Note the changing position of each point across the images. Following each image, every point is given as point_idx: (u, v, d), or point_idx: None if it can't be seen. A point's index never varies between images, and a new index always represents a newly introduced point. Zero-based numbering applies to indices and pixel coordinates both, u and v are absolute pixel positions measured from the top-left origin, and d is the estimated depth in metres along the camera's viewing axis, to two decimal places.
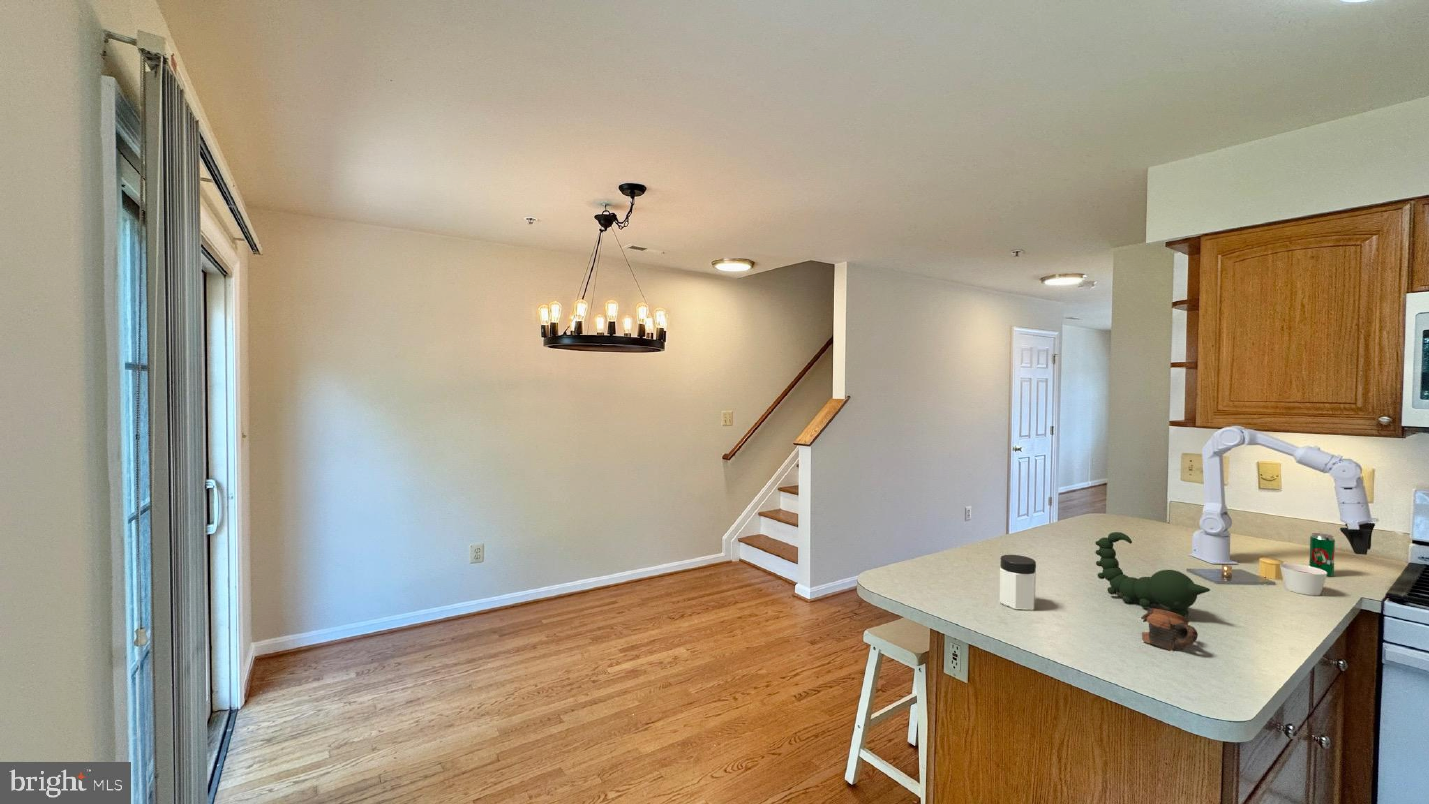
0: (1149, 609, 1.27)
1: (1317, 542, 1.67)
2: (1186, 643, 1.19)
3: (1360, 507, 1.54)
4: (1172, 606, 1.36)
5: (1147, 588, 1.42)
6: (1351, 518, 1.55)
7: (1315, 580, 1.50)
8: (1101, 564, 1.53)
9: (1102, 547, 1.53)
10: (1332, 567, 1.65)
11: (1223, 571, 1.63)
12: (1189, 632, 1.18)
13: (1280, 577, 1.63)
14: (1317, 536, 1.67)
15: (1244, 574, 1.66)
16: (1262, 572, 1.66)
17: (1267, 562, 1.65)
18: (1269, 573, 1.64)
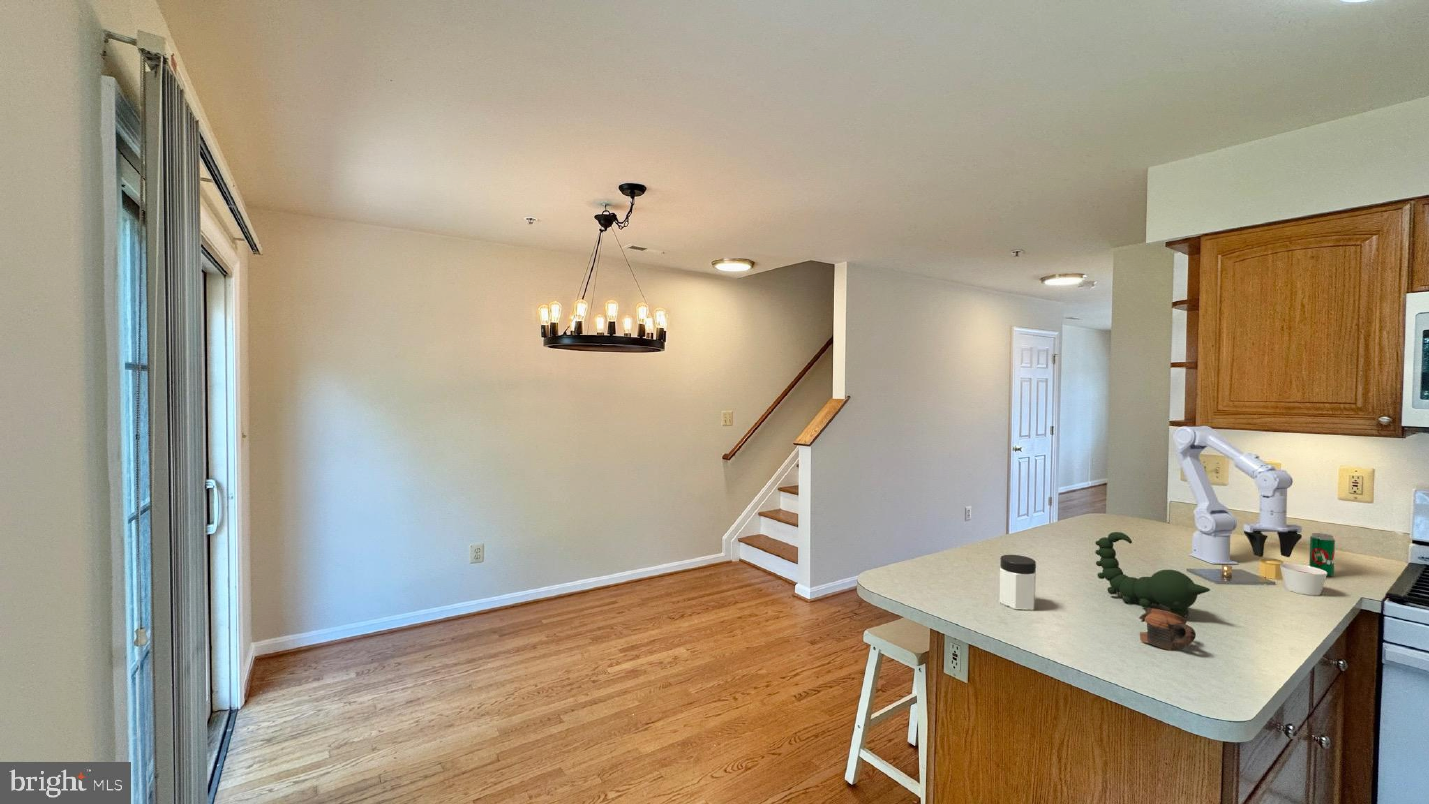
0: (1147, 609, 1.27)
1: (1317, 542, 1.67)
2: (1184, 643, 1.19)
3: (1269, 515, 1.64)
4: (1172, 606, 1.36)
5: (1147, 588, 1.42)
6: (1261, 523, 1.66)
7: (1315, 580, 1.50)
8: (1101, 564, 1.53)
9: (1102, 547, 1.53)
10: (1332, 567, 1.65)
11: (1223, 571, 1.63)
12: (1187, 632, 1.18)
13: (1280, 577, 1.63)
14: (1317, 536, 1.67)
15: (1244, 574, 1.66)
16: (1262, 572, 1.66)
17: (1267, 562, 1.65)
18: (1269, 573, 1.64)
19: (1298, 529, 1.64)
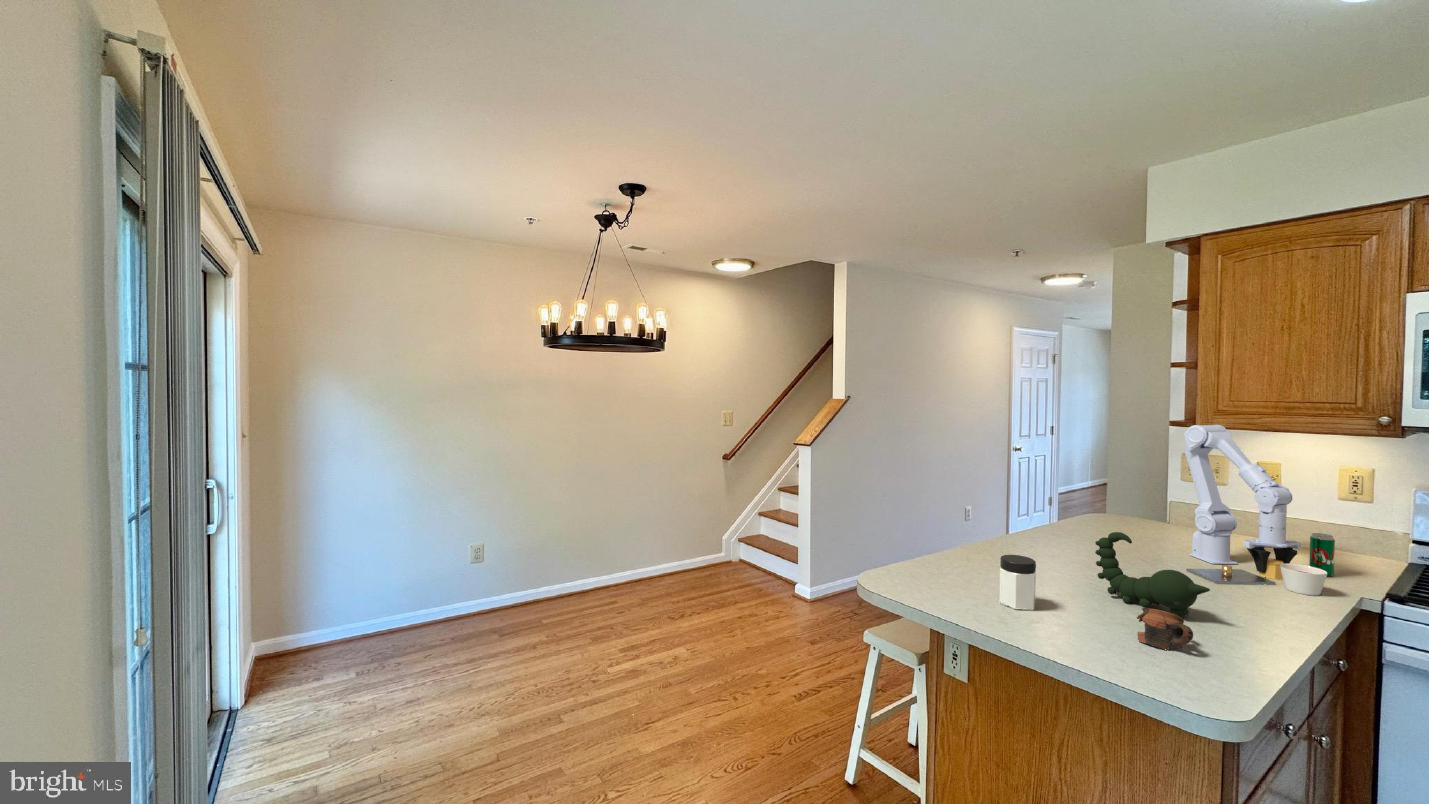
0: (1145, 609, 1.27)
1: (1317, 542, 1.67)
2: (1182, 643, 1.19)
3: (1268, 531, 1.64)
4: (1172, 606, 1.36)
5: (1147, 588, 1.42)
6: (1260, 539, 1.66)
7: (1315, 580, 1.50)
8: (1101, 564, 1.53)
9: (1102, 547, 1.53)
10: (1332, 567, 1.65)
11: (1223, 571, 1.63)
12: (1185, 632, 1.18)
13: (1280, 577, 1.63)
14: (1317, 536, 1.67)
15: (1244, 574, 1.66)
16: None
17: (1267, 562, 1.65)
18: (1269, 573, 1.64)
19: (1297, 545, 1.64)
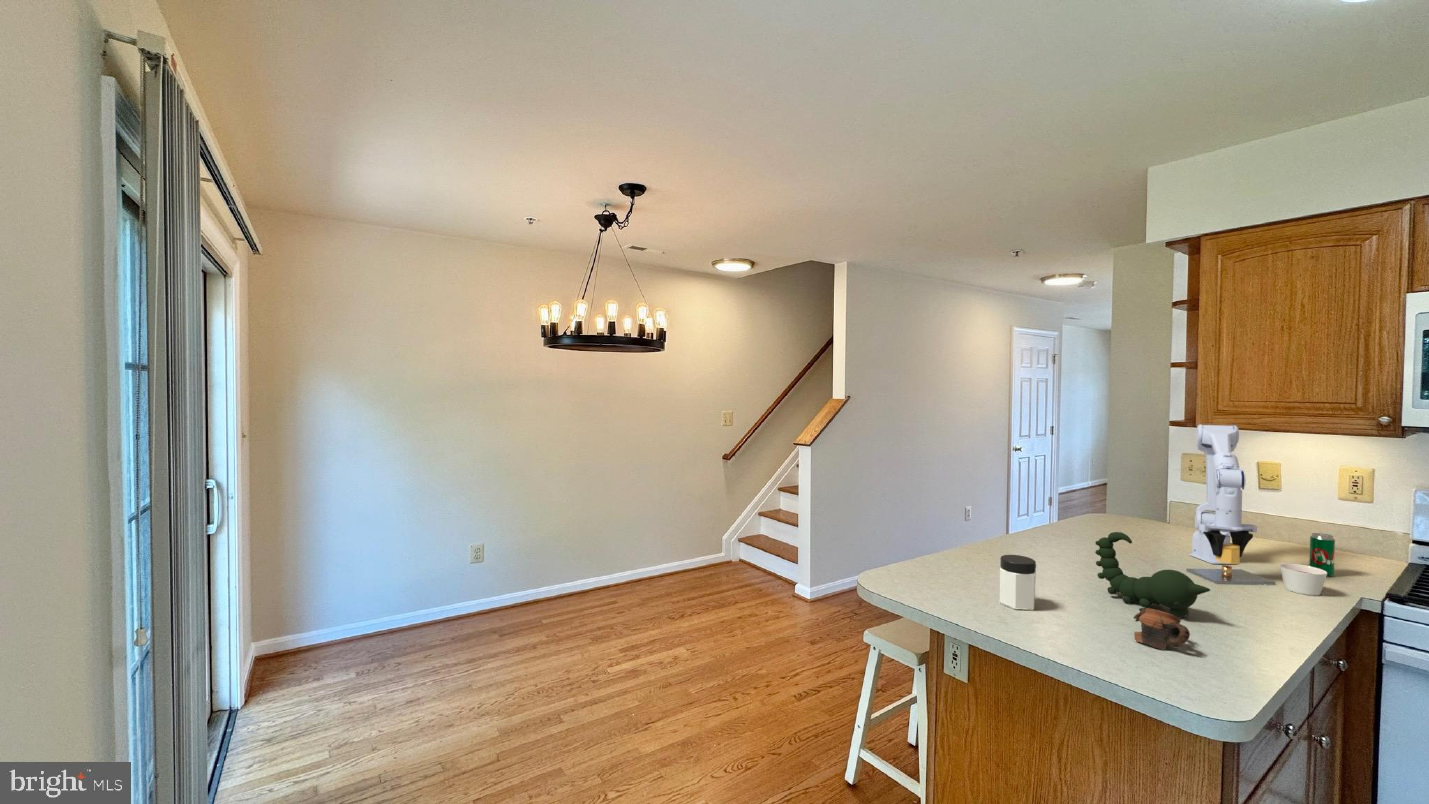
0: (1141, 609, 1.27)
1: (1317, 542, 1.67)
2: (1178, 642, 1.19)
3: (1224, 514, 1.62)
4: (1172, 606, 1.36)
5: (1147, 588, 1.42)
6: (1216, 523, 1.64)
7: (1315, 580, 1.50)
8: (1101, 564, 1.53)
9: (1102, 547, 1.53)
10: (1332, 567, 1.65)
11: (1223, 571, 1.63)
12: (1181, 631, 1.18)
13: (1236, 561, 1.61)
14: (1317, 536, 1.67)
15: (1244, 574, 1.66)
16: (1218, 557, 1.63)
17: (1223, 546, 1.62)
18: (1225, 558, 1.62)
19: (1253, 529, 1.62)
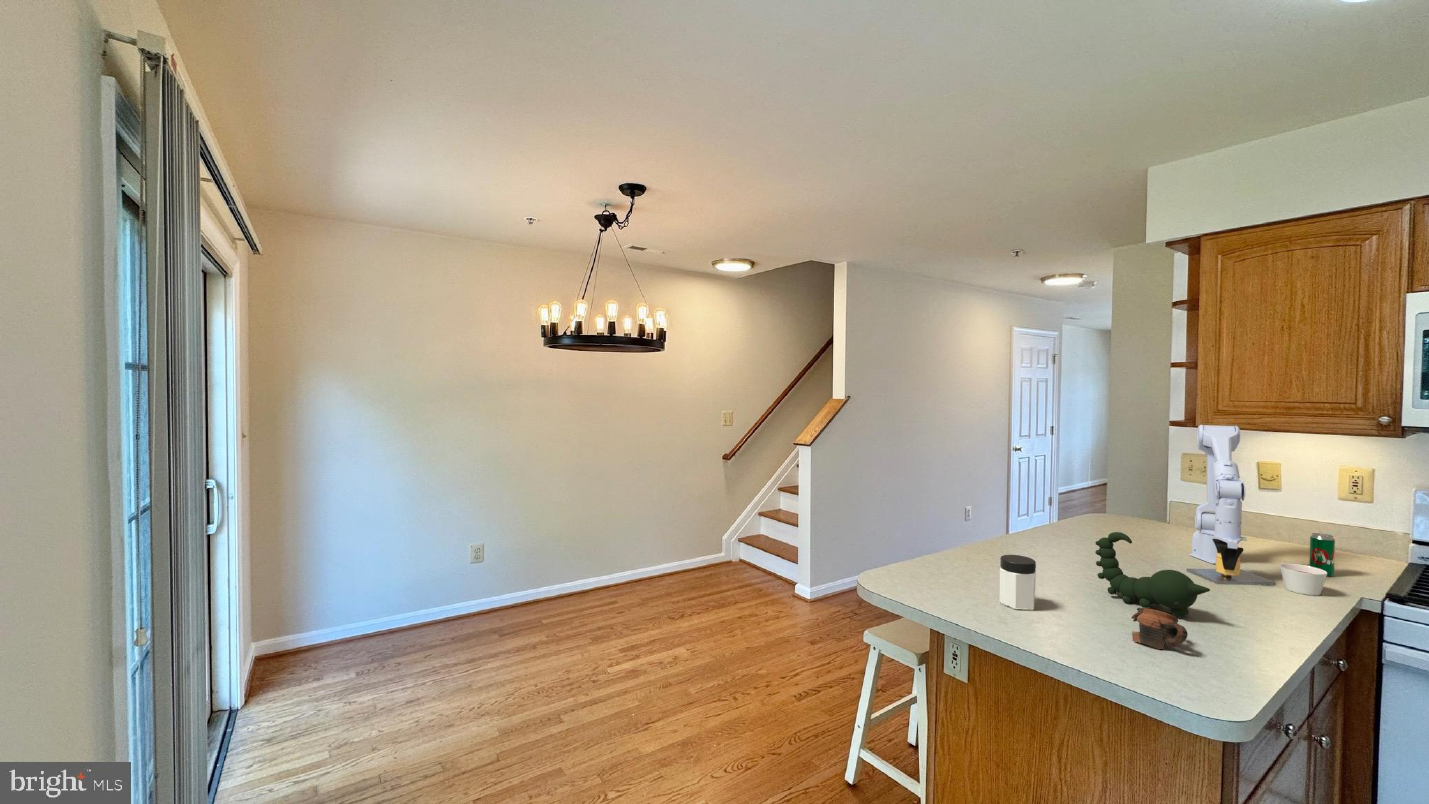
0: (1139, 609, 1.27)
1: (1317, 542, 1.67)
2: (1176, 642, 1.19)
3: (1236, 527, 1.60)
4: (1172, 606, 1.36)
5: (1147, 588, 1.42)
6: (1227, 536, 1.61)
7: (1315, 580, 1.50)
8: (1101, 564, 1.53)
9: (1102, 547, 1.53)
10: (1332, 567, 1.65)
11: None
12: (1179, 631, 1.18)
13: None
14: (1317, 536, 1.67)
15: (1244, 574, 1.66)
16: (1229, 570, 1.61)
17: None
18: (1236, 570, 1.61)
19: None
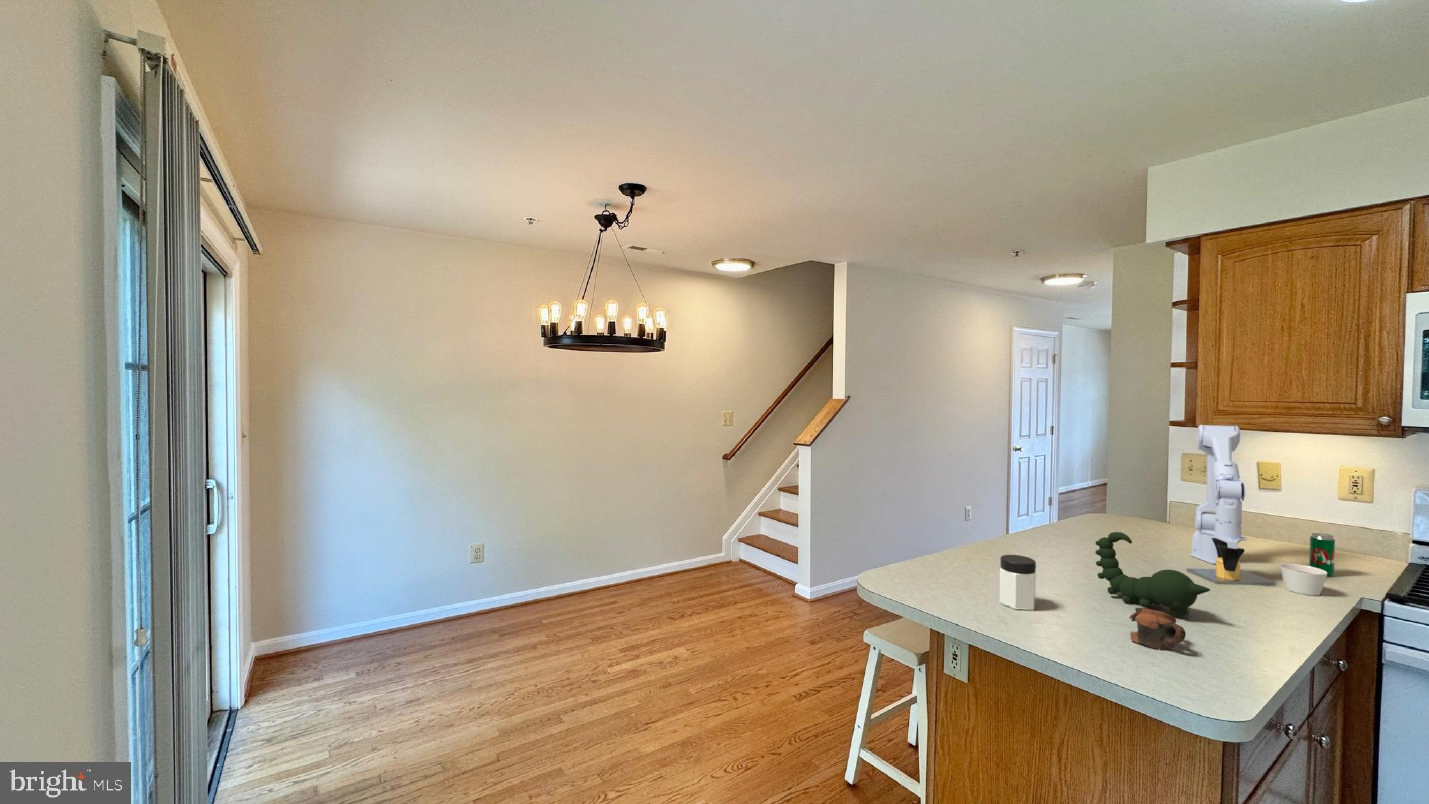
0: (1137, 608, 1.27)
1: (1317, 542, 1.67)
2: (1174, 642, 1.19)
3: (1236, 527, 1.60)
4: (1172, 606, 1.36)
5: (1147, 588, 1.42)
6: (1227, 536, 1.61)
7: (1315, 580, 1.50)
8: (1101, 564, 1.53)
9: (1102, 547, 1.53)
10: (1332, 567, 1.65)
11: None
12: (1177, 631, 1.19)
13: None
14: (1317, 536, 1.67)
15: (1244, 574, 1.66)
16: (1229, 575, 1.61)
17: None
18: (1236, 575, 1.61)
19: None
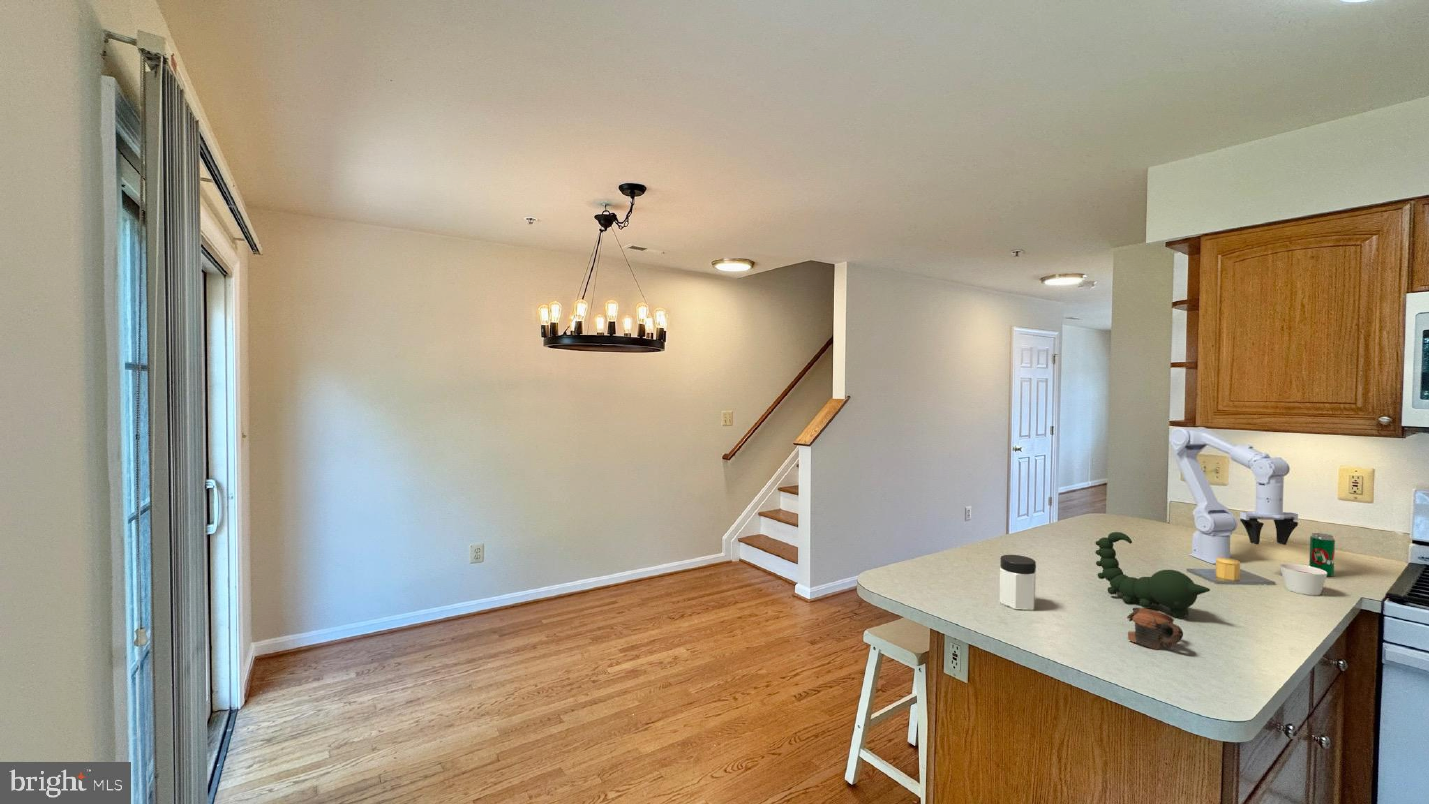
0: (1135, 608, 1.27)
1: (1317, 542, 1.67)
2: (1172, 642, 1.19)
3: (1265, 502, 1.64)
4: (1172, 606, 1.36)
5: (1147, 588, 1.42)
6: (1257, 511, 1.66)
7: (1315, 580, 1.50)
8: (1101, 564, 1.53)
9: (1102, 547, 1.53)
10: (1332, 567, 1.65)
11: None
12: (1175, 631, 1.19)
13: None
14: (1317, 536, 1.67)
15: (1244, 574, 1.66)
16: (1229, 575, 1.61)
17: (1235, 563, 1.61)
18: (1236, 575, 1.61)
19: (1294, 517, 1.64)
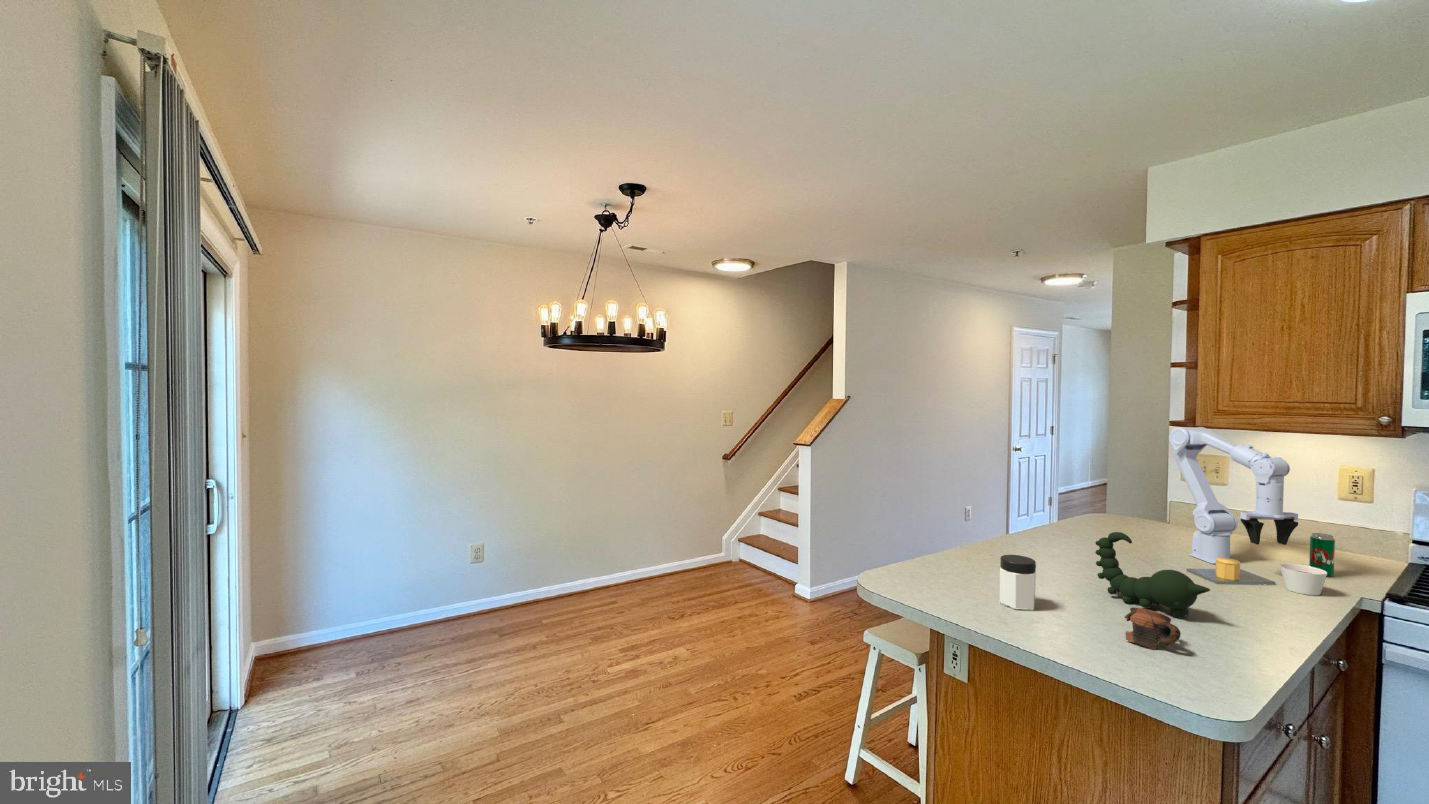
0: (1132, 608, 1.28)
1: (1317, 542, 1.67)
2: (1169, 642, 1.19)
3: (1265, 502, 1.64)
4: (1172, 606, 1.36)
5: (1147, 588, 1.42)
6: (1257, 511, 1.66)
7: (1315, 580, 1.50)
8: (1101, 564, 1.53)
9: (1102, 547, 1.53)
10: (1332, 567, 1.65)
11: None
12: (1172, 631, 1.19)
13: None
14: (1317, 536, 1.67)
15: (1244, 574, 1.66)
16: (1229, 575, 1.61)
17: (1235, 563, 1.61)
18: (1236, 575, 1.61)
19: (1295, 517, 1.64)
